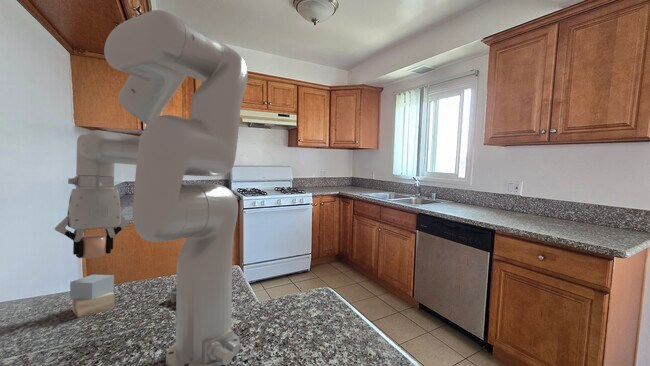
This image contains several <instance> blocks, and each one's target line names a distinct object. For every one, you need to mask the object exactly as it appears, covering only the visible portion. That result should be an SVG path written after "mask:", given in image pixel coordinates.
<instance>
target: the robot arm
mask: <svg viewBox="0 0 650 366" xmlns="http://www.w3.org/2000/svg"><path fill="white" fill-rule="evenodd" d="M103 49H104V50H103V53H104V57H105V61H106V62H107V64H108V65H109V66H110V67H111V68H113V69H114V70H117V71H119V72H123V73H125V74H129V76H128V78H127V79H126V81H125V83H124V85H122V87H121V89H120V91H119V93H118V96H117V98H118V102H119V103H120V105H121V106H122V107H123V109H124V110H125V111H126V112H128V113H129V115H131V116H132V117H134V118H136V119H137V120H138V121H141V122H142V123H143V124H145V125H146V126H145V127H144V128H143V130H142V133H141V134H140V135H139V136H138V135H134V134H127V133H123V132H114V131H106V130H100V129H98V130H91V131H89V132H87V133H83V134H80V135H78V137H77V139H76V140H77V141H76V168H75V169H76V174H75V176H74V177H72V178H68V179H67V184H69V185H74V187H75V188H72V189H71V193H70V195H69V200H68V206H67V214H66V217H64V219H62V220H61V221H60V222H59V223H58V224H57V225H56V226H55V227H54V231H56V232H58V233H60V234H62V235H64V236H66V237H67V238H68V239H70V240H71V241H72V242H73V243H72V244H73V247H72V249H73V251H72V255H74V256H76V257H77V258H78V259H83V258H82V257H83V241H82V239H81V237H82V236H84V232H85V230H94V229H95V230H97V229H103V230H104V232H105V235H107V240H106V255H107V254H112V253H111V251H112V250H113V249H114V238H116V235H118V234H119V233H120V232H121V231H122V229H124V228H125V227H127V226H128V225H129V221H128V220H127V219H126V218H125V217H124V216H123V215H122V210H121V200H120V194H119V193H120V192H119V190H118V188H115V164H118V165H119V164H122V165H133V166H134V165H135V166H136V167H135V177H134V178H135V179H134V188H133V200H132V222H133V223H132V224H133V226H134V227H133V228H134V230H135V231H136V233H137V235H139V237H140V238H141V239H143V240H144V241H147V242H151V243H163V242H171V241H177V240H180V239H185V240H184V242H183V244H182V246H181V248H180V250H179V253H178V256H177V260H176V261H177V263H176V288H177V295H176V302H175V304H176V307H175V308H176V309H175V311H176V312H175V313H176V315H175V342H174V343H173V344H172V345H171V346H170V347H169V348H168V350H167V352H166V353H165V364H166V366H227V365H229V364H230V363H231V362H232V360H233V358H234V357H235V356H236V355H237V354H238V352H239V351H240V348H241V345H240V342H241V341H240V337H239V335H237V334H236V332H234V330H233V329H232V317H233V316H232V310H233V309H232V308H233V307H232V304H233V303H232V302H233V299H232V298H233V295H232V293H233V287H232V286H233V251H234V250H233V246H234V236H235V231H236V230H235V229H236V225H237V221H238V214H239V203H238V199H237V197H236V196H235V194H234V192H233V191H232V190H231V189H230V188H228V187H226V186H224V185H221V184H218V183H209V182H207V183H203V182H183V180H184V177H185V176H192V177H193V176H194V177H219V176H220V177H221V176H224V175H227V174H228V173H229V172H231V170H233V167H234V165H235V161H236V157H237V156H236V155H237V150H238V149H237V148H238V138H239V132H240V131H239V128H240V119H241V110H242V104H243V99H244V96H245V92H246V88H247V84H248V77H249V76H248V67H247V63H246V62H245V59H244V58H243V57H242V56H241V54H240V53H238V52H237V51H235V50H234V49H233V48H231V47H229V46H228V45H227V44H225V43H223V42H221V41H220V40H218V39H216V38H215V37H213V36H211V35H209V34H208V33H206V32H205V31H202V30H201V29H198V28H197V27H195V26H194V25H192V24H191V23H188V22H187V21H185V20H183V19H181V18H179V17H178V16H176V15H175V14H173V13H171V12H169V11H164V10H161V9H155V10H149V11H147V12H144V13H142V14H140V15H137V16H134V17H132V18H128V19H127V20H125V21H123V22H122V23H119V24H118V25H117V26H116V27H114V28H113V29H112V30H111V31H110V33H109V34H108V36H107V38H106V40H105V43H104V47H103ZM187 77H189V78H193V79H195V80H198V81H200V82H202V83H201V84H200V85H199V86H198V87H197V88H196V90H195V91H194V93H193V96H192V99H191V104H190V105H191V107H190V116H189V118H187V117H186V118H185V117H181V116H177V115H173V114H172V115H171V114H164V115H162V113H163V111H164V110H165V108H166V106H168V104H169V103H170V101H171V99H172V98H173V97H174V95H176V93H177V91H178V89H179V88H180V87H181V86H182V84H183V82H184V81H185V79H186V78H187ZM66 227H69V228H71V229H73V230H74V231H73V232H72V231H71V230H68V229H67V228H66Z"/></svg>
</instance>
